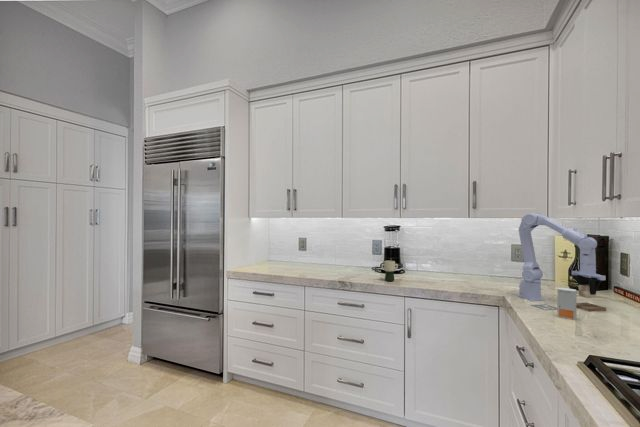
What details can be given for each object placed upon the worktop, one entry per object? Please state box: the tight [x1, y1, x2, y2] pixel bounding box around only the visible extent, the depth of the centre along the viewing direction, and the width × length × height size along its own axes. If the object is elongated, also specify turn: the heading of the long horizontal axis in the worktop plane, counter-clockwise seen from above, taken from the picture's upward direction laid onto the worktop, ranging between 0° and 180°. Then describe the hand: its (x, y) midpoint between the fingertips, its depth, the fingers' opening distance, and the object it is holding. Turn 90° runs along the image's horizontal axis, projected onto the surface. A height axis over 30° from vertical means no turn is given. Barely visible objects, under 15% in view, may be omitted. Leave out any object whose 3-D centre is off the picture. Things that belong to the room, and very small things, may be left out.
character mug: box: [380, 260, 399, 282], centre depth 221 cm, size 11×7×13 cm, turn 91°
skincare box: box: [556, 287, 578, 320], centre depth 140 cm, size 6×4×12 cm
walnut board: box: [576, 302, 607, 313], centre depth 154 cm, size 9×9×2 cm
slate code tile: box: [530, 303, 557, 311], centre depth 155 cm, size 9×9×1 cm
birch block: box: [578, 284, 597, 299], centre depth 154 cm, size 4×5×5 cm
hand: (588, 293), depth 154 cm, fingers closed on birch block, 4 cm apart
